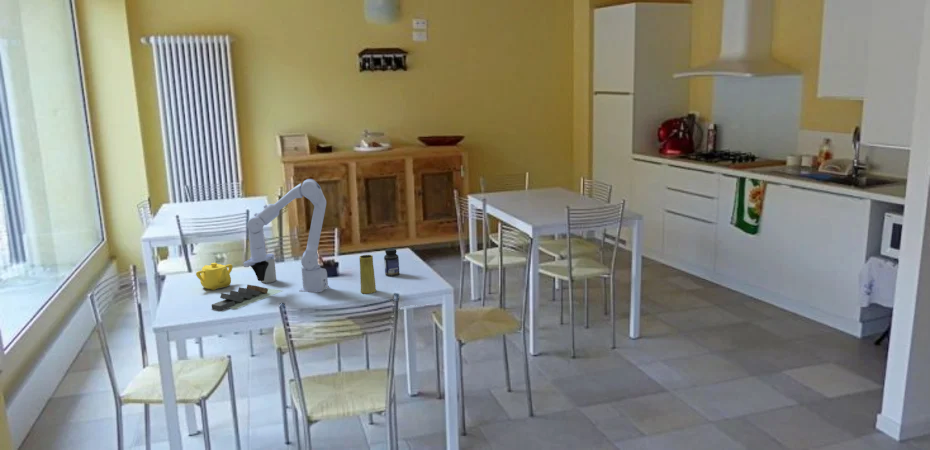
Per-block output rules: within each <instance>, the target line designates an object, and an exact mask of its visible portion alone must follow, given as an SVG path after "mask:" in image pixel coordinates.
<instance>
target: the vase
mask: <svg viewBox="0 0 930 450" xmlns="http://www.w3.org/2000/svg"><path fill="white" fill-rule="evenodd" d="M373 256H374V255H372V254H362V255H360V256H359V272H360V273H359V275H360V294H366V295H367V294H374V293H376V292H377V288H376V278H375V267H374V258H373Z"/></svg>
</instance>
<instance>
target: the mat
mask: <svg viewBox="0 0 930 450" xmlns="http://www.w3.org/2000/svg"><path fill="white" fill-rule="evenodd" d="M266 288H267V289H268V292H267V293H262V292H260V294H259V296H254V295H252V297H251V299H247V298H243V301H242V303H241V302H235V301H234V302H235V305H234V306H232V307H229V308H228V309H232V310H233V309H235V310H237V309H239V308H241V307H242V308H243V307H245V306H248V305H250V304H254V303H256V302H257V301H261V300H263V299H266V298H268V297H270V296H273V295H276V294H279V293H281V292H283V290H282V289H275V288H268V287H266Z"/></svg>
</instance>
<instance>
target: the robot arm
mask: <svg viewBox="0 0 930 450" xmlns="http://www.w3.org/2000/svg"><path fill="white" fill-rule="evenodd" d="M303 197H304V198H306V199H307V200H309V201H310V203H312V205H313V212H312V217H311V223H310V228H309V232H308V237H307V238H308V239H307V242H306V243H307V244H306V249H305V250H304V251H303V253H302V256H301V259H300V260H301V265H302V266H301V267H300V268H301V277H302V278H301V280H302V288H300V289H299V290H298V291H299V292H304V293H305V292H306V293H307V292H308V293H309V292H311V293H322V292H324V291H325V290H326V289H328V288H329V286H330V285H329V281H328V272H327V269H326V268H323V267H321V265H320V264H319V262H318V260H319V253H318V251H319V250H318V249H319V244H320V240H321V239H320V238H321V233H322V228H323V223H324V218H325V213H326V207H327V199H326V197H325V195H324V192H323V190H322V187H321V185H319V183H318V182H317V181H316V180H315V179H313V178H307V179H305V180H303V182H302V183H301V182H300V183H299V184H296V186H294V187H293V188H291V189H290V190H289V191H287V193H286V194H285V195H283V196H281V198H280V199H279V200H277V201H276V202H275V203H268V204H264V206H263V207H262V208H261V209H260V210H259V211H258V212H255V213H254V214H253V216H252V217H251V218H249V220H248V221H247V224H246V227H247V230H248V234H249V235H248V239H249V249H250V257H249V259H248V260H246V261H244V262H243V268H249V267H250V268H251V269H252V271H253V272H254V273H255V276H256V279H257V281H259V282H261V281H264V278H265V272H266V269H267V267H268V265H269V263H268V262H266V261H267V260H270V259H274V260H275V254H274V253H273V254H267V255H266V253H267V251H266V250H267V249H266V240H265V234H264V226H267V225H269V224H270V223H271V222H272V221H274V220H275V218H278V216H279V215H280V211H281V210H282V209H283V208H285V207H286V206H287V205H288V204H290V203H291V202H292V201H294V200H295V199H302V198H303Z"/></svg>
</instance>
